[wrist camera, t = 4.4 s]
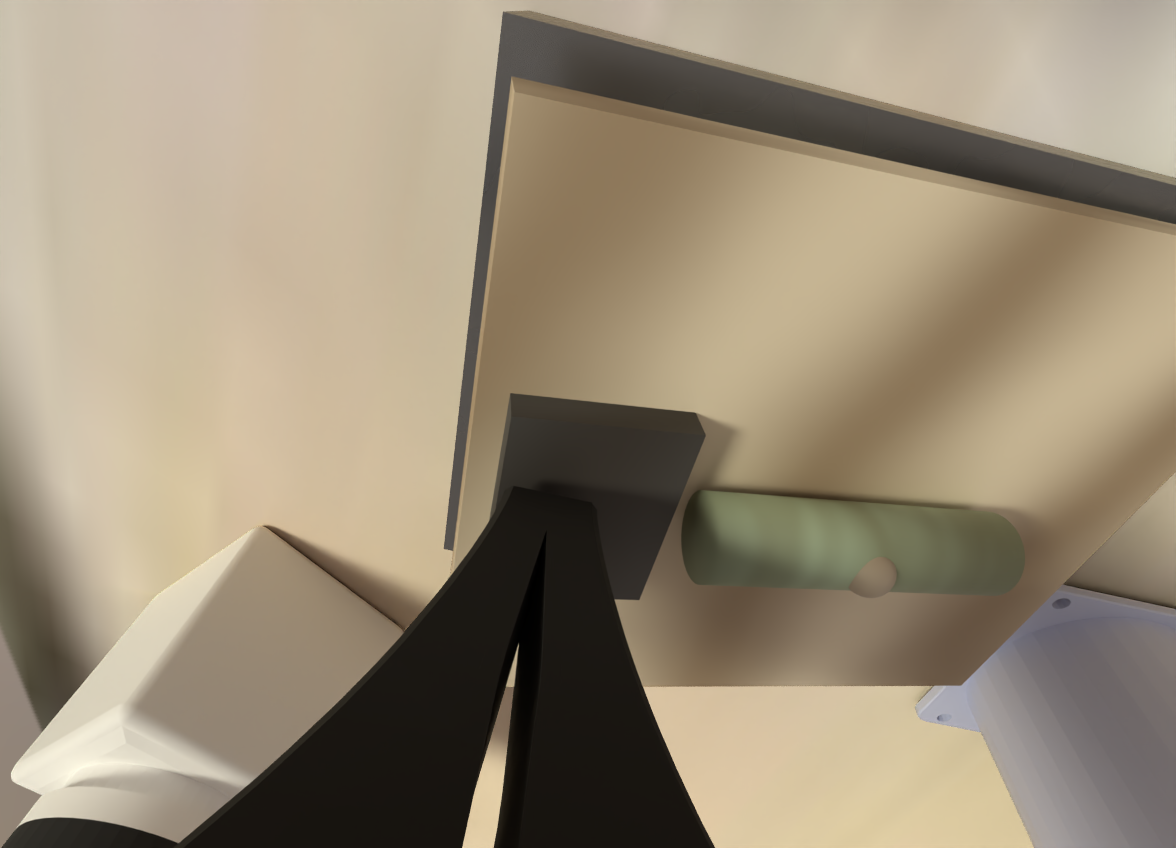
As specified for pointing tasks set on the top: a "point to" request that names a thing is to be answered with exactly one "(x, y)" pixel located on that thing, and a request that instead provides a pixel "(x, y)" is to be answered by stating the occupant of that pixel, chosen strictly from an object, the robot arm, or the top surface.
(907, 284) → the leveling plate
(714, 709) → the top surface
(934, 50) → the top surface
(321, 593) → the medicine bottle
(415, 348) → the top surface
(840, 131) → the instrument base
